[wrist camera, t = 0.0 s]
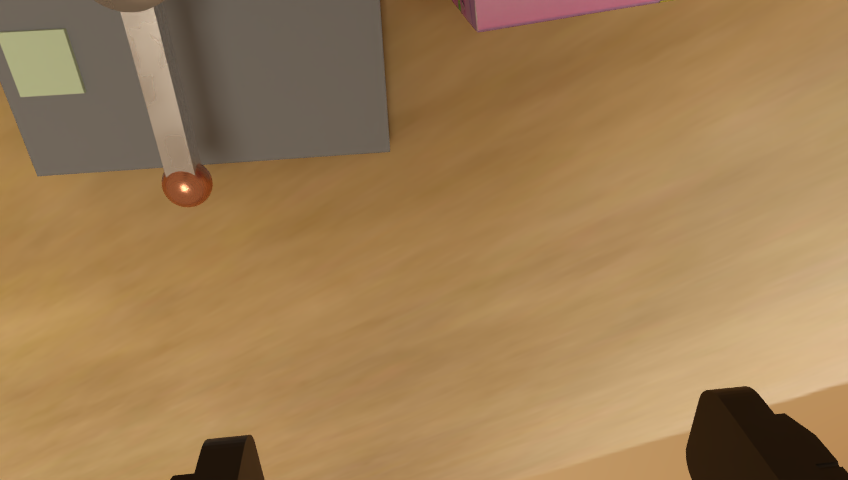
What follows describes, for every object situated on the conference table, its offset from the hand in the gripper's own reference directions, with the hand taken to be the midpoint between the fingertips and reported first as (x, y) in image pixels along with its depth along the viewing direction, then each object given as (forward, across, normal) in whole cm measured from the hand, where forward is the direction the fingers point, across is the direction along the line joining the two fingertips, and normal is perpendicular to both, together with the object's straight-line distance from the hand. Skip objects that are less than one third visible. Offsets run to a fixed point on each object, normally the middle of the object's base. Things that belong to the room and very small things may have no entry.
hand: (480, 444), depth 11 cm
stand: (+29, +11, -7) cm, 32 cm away
